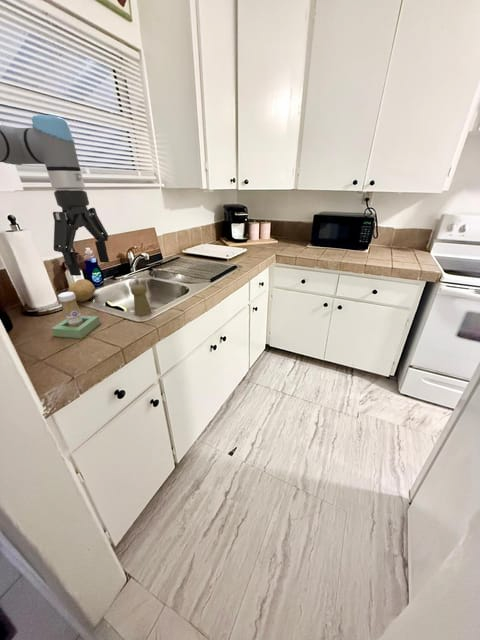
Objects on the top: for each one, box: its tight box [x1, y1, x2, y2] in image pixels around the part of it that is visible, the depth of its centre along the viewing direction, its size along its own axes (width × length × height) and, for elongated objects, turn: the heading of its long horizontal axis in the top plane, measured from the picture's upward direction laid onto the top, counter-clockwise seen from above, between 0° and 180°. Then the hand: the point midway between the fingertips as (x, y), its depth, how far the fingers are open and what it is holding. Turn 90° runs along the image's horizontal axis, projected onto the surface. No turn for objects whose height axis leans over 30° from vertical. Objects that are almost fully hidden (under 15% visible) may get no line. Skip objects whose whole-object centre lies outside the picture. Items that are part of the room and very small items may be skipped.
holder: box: [51, 314, 101, 339], centre depth 89 cm, size 10×10×3 cm
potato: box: [67, 278, 96, 303], centre depth 111 cm, size 10×14×8 cm
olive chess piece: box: [130, 284, 152, 317], centre depth 99 cm, size 6×6×11 cm
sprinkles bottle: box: [57, 291, 83, 327], centre depth 87 cm, size 5×5×14 cm
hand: (91, 268), depth 79 cm, fingers open, 13 cm apart
